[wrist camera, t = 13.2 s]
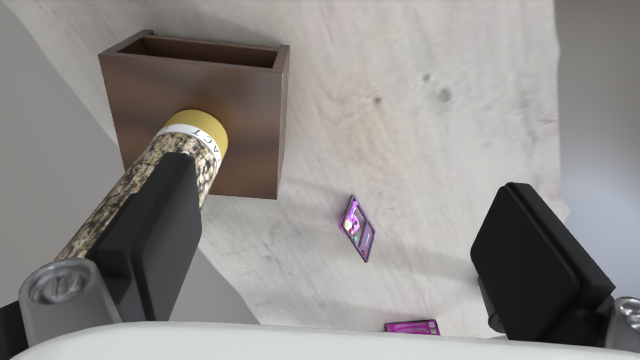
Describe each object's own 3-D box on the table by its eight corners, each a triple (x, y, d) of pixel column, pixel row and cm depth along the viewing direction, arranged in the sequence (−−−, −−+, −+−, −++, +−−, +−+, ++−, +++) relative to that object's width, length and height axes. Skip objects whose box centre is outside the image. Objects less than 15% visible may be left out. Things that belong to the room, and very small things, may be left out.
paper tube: (181, 165, 43) (50, 385, 22) (156, 112, 39) (-30, 316, 18) (237, 157, 42) (156, 375, 21) (217, 101, 38) (96, 300, 17)
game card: (371, 262, 58) (347, 224, 53) (343, 264, 60) (317, 228, 56) (379, 230, 62) (357, 193, 58) (352, 233, 65) (329, 198, 61)
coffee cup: (522, 267, 68) (550, 313, 60) (500, 294, 72) (523, 341, 64) (483, 259, 67) (506, 305, 59) (463, 288, 71) (481, 334, 63)
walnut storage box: (143, 29, 45) (97, 54, 35) (290, 45, 46) (282, 73, 36) (161, 144, 53) (128, 187, 44) (283, 155, 54) (276, 199, 45)
